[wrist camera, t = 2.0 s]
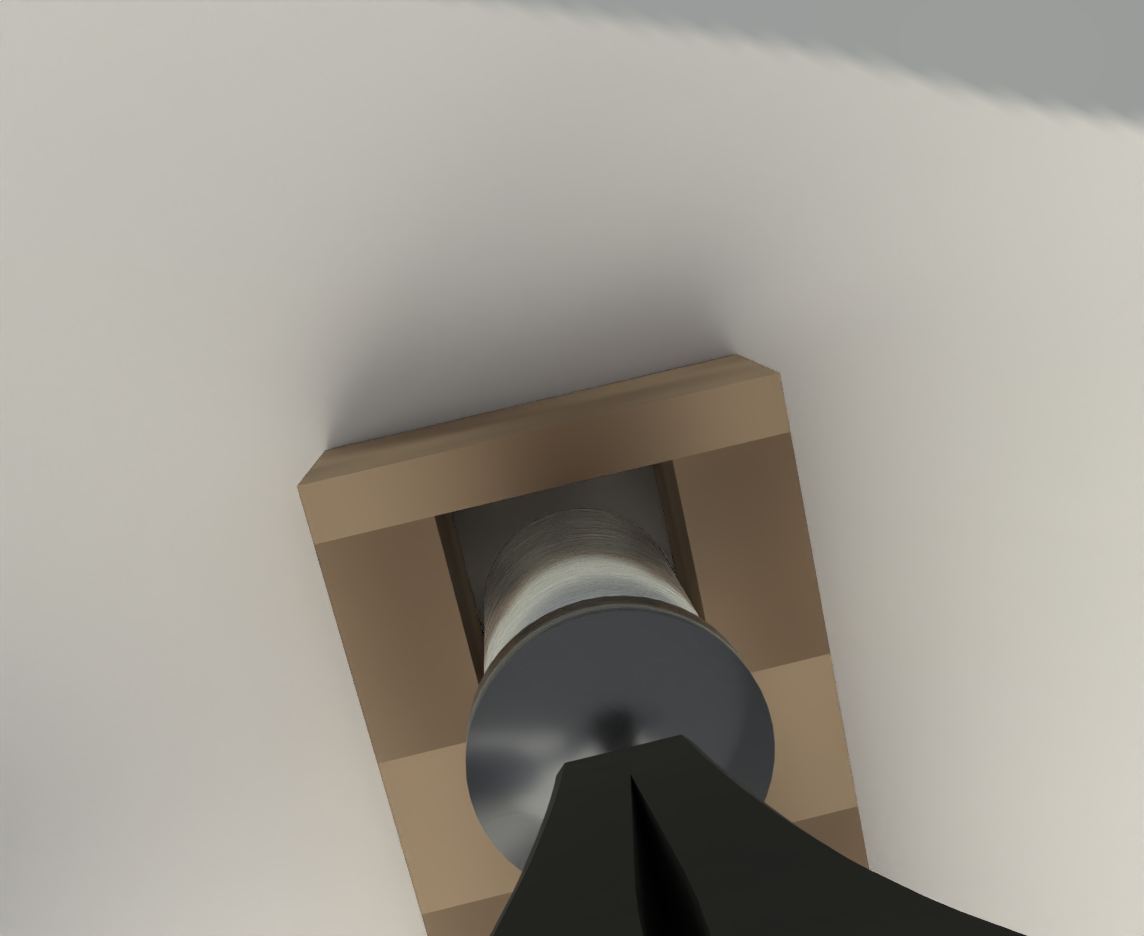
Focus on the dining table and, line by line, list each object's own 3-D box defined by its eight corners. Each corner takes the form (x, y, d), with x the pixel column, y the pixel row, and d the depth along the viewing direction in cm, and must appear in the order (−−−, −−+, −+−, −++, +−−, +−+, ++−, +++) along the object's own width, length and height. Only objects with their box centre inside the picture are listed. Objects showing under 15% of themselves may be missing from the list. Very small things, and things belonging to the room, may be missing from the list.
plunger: (500, 722, 18) (506, 931, 12) (449, 524, 17) (430, 654, 12) (704, 672, 18) (798, 859, 13) (662, 474, 17) (744, 579, 12)
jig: (559, 1281, 24) (569, 1423, 21) (325, 450, 20) (296, 486, 17) (894, 1194, 24) (951, 1323, 21) (736, 354, 20) (779, 373, 17)
